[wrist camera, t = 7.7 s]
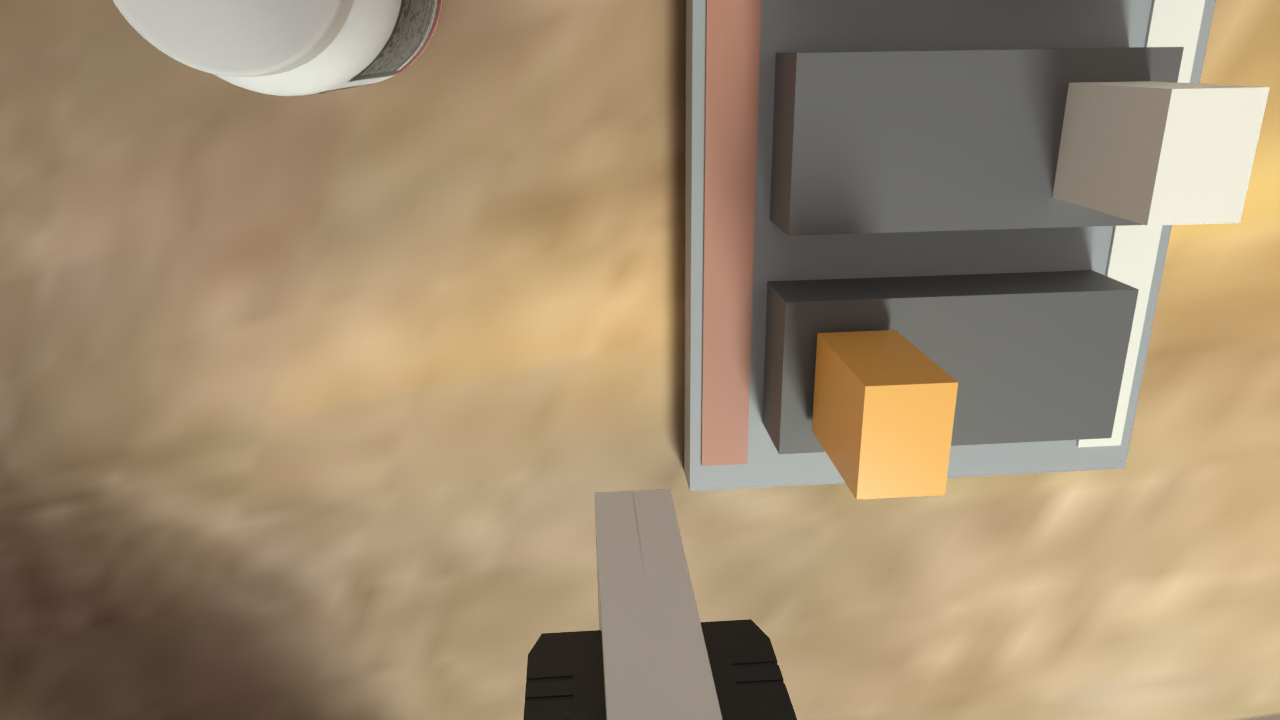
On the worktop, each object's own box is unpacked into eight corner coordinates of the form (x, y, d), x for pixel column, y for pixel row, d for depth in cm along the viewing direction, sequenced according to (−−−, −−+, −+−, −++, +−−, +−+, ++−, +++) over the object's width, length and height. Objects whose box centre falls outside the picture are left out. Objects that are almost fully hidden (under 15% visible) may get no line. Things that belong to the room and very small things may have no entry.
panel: (684, 471, 32) (723, 609, 24) (687, -313, 24) (747, -494, 16) (1101, 450, 33) (1269, 575, 25) (1238, -305, 25) (1549, -469, 17)
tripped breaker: (811, 431, 27) (856, 499, 23) (817, 332, 26) (865, 386, 22) (887, 427, 27) (944, 494, 23) (895, 330, 26) (958, 382, 22)
